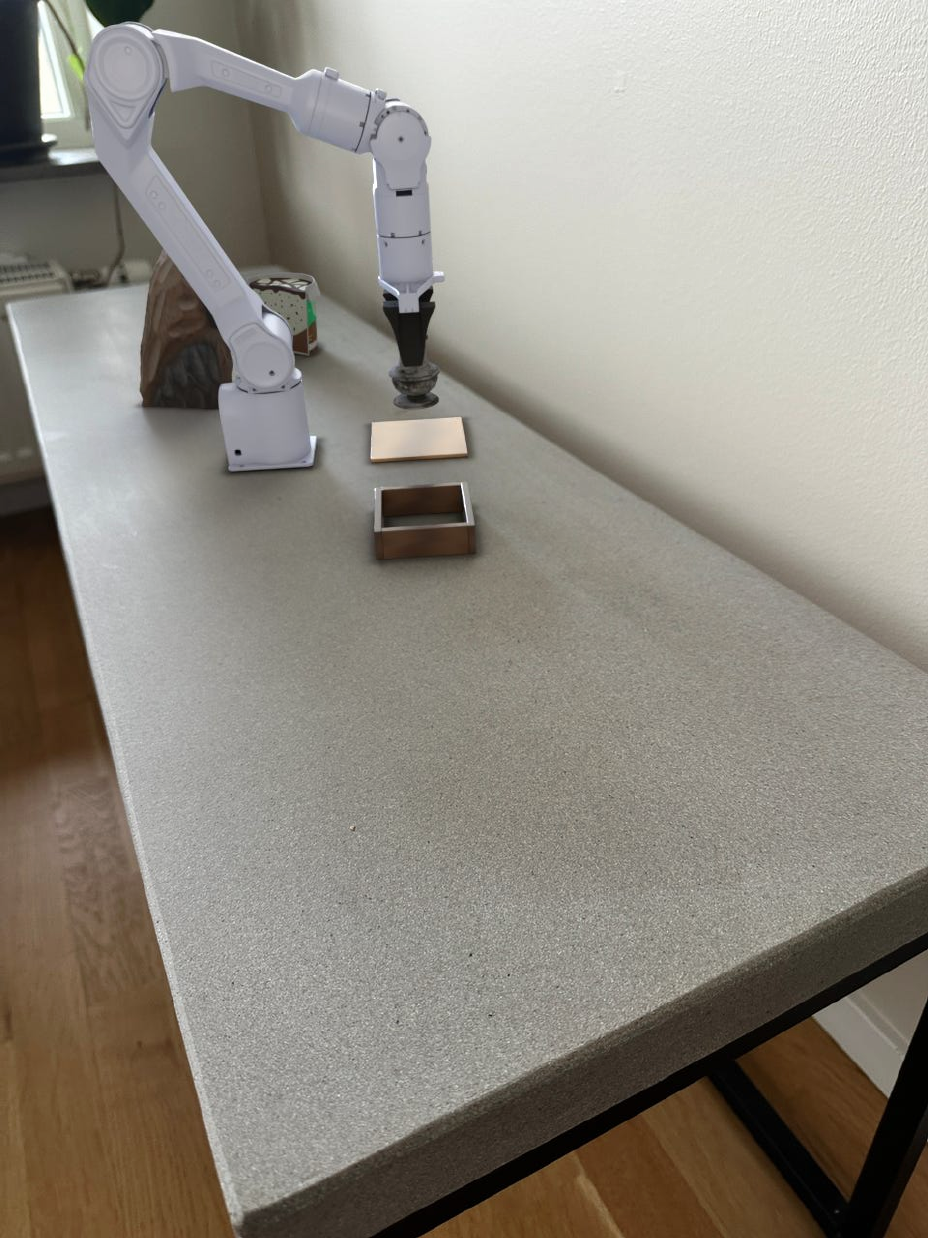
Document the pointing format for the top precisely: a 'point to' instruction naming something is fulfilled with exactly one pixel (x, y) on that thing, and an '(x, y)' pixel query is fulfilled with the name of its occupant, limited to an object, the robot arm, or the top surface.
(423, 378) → the salt shaker
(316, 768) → the top surface
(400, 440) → the coaster
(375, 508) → the holder
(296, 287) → the food container
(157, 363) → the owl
